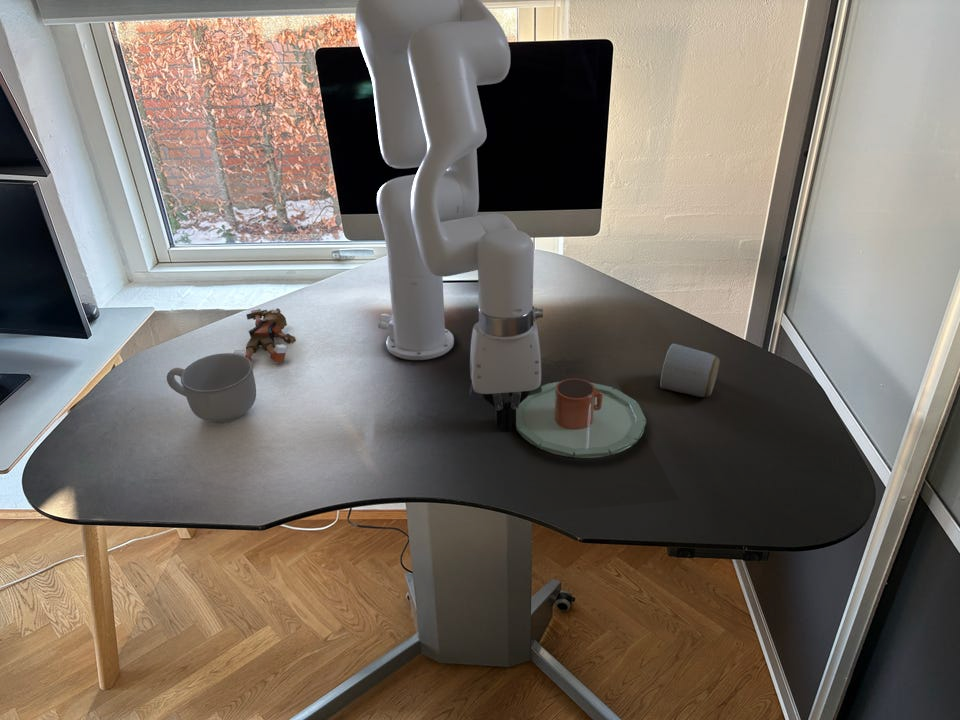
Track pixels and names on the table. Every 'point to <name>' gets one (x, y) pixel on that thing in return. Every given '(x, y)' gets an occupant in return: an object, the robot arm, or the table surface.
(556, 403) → the espresso cup
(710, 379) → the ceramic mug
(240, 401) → the teacup
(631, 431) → the plate
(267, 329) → the character figurine
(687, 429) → the table surface
